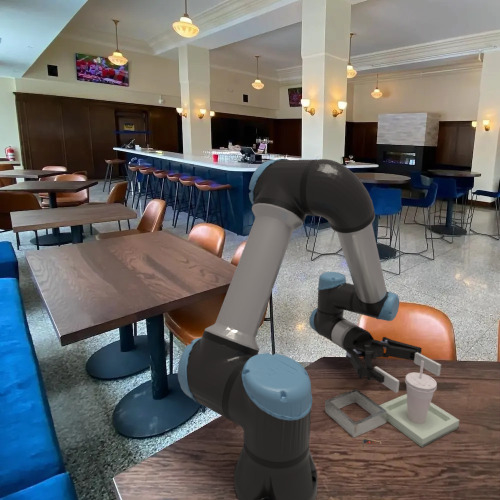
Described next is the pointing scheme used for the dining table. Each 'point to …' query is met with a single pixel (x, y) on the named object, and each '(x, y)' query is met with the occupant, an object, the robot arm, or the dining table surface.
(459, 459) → the dining table surface
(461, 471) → the dining table surface
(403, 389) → the dining table surface
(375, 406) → the square frame
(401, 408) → the tray
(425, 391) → the smoothie
